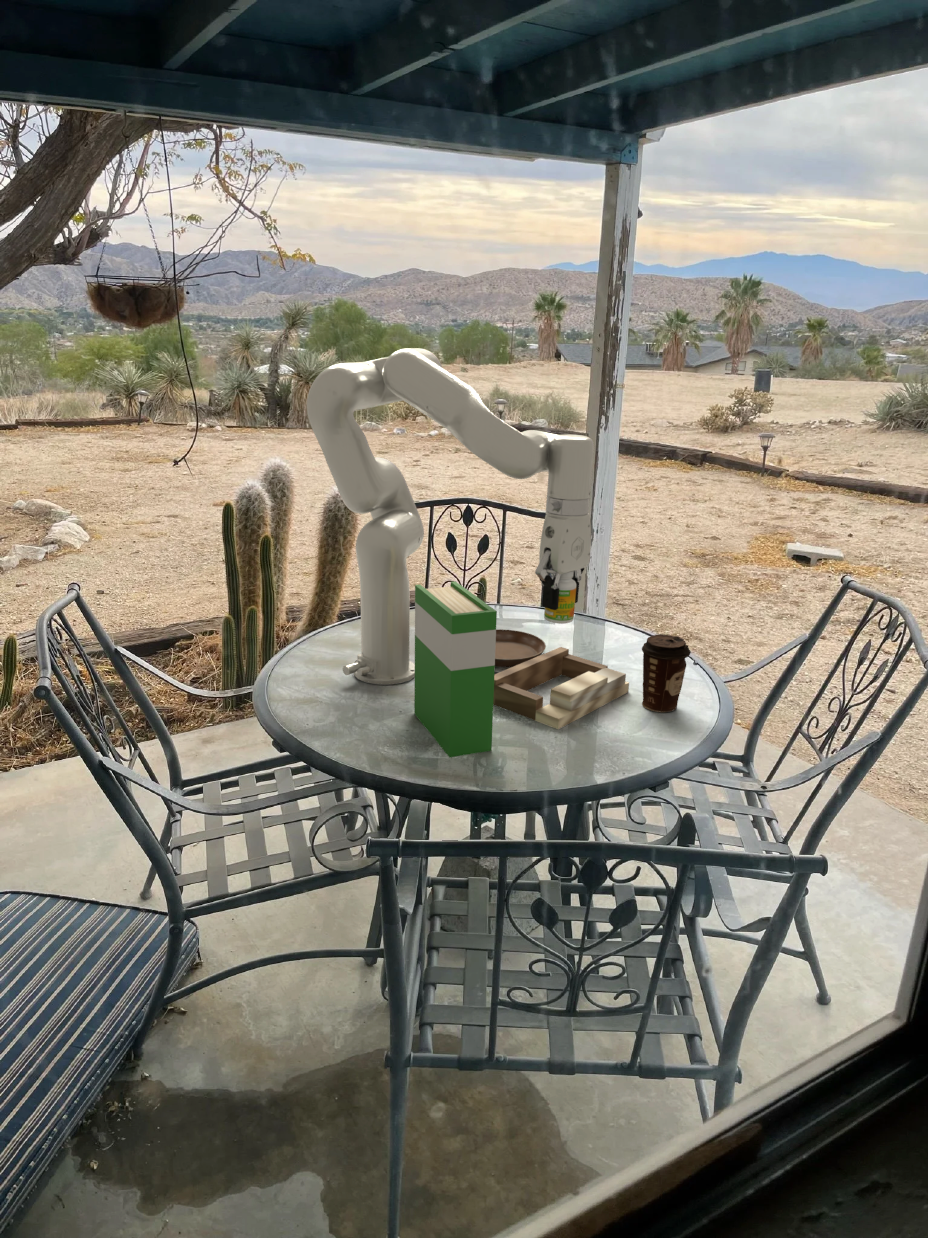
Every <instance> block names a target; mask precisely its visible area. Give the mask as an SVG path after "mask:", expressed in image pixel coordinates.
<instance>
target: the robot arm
mask: <svg viewBox="0 0 928 1238" xmlns="http://www.w3.org/2000/svg"><path fill="white" fill-rule="evenodd" d="M397 402H398V403H399V402H404V403H407V404H408V405H409V406H411V407H412V408H414V409H415V410H417V411H419V412H420V413H422V414H423V415H425V416H427V417H428V418H430V419H431V420H432V421H434V422H435V423H437V424H438V425H439V426H441V427H442V428H444V429H445V430H447V431H449V432H450V434H451V435H452V436H453V437H454V438H455V439H456V440H458V441H459V442H460V444H461V445H463V446H464V447H465V448H466V449H467V450H469V451H470V452H471V453H472V454H473V455H475V456H476V457H477V458H479V459H480V460H481V461H483V462H485V463H486V464H488V465H489V466H491V467H493V468H494V469H496V470H497V471H499V472H500V473H502V474H503V475H505V476H507V477H509V478H513V479H515V480H525V479H530V478H531V477H534V476H535V475H536V474H539V473H543V472H544V473H545V472H547V473H548V474H547V487H546V488H547V489H546V491H547V492H546V501H545V502H546V504H545V515H544V521H543V524H542V531H541V536H540V545H539V555H538V565H537V567H536V569H535V571H534V573H535V575H536V576H537V577H538V579H539V581H540V583H541V586H542V599H541V606H542V607H543V608H544V609H545V608H549V609H552V610H557V609H558V602H559V588H557V586H558V582H559V579H560V575H561V574H565V573H569V572H572V571H574V573H573V578H572V579H573V580H574V581H575V582H576V596H575V604H577V603H578V600H579V591H580V590H579V589H580V582H581V581H582V574H583V573H584V571H585V568H586V567H588V566H589V564H590V559H591V548H592V547H591V546H592V545H591V544H592V525H591V524H592V523H591V514H590V513H589V512H590V510H589V509H590V499H591V489H592V488H591V487H592V486H591V485H592V475H593V465H594V454H595V453H594V452H595V444H594V441H593V438H591V437H589V436H586V435H582V434H567V433H566V434H556V433H550V432H546V431H541V430H536V429H528V430H524V431H519V430H518V429H516V428H515V427H513V426H512V425H510V424H508V423H507V422H506V421H504V420H503V419H501V418H499V417H498V416H497V415H495V414H494V413H493V412H492V411H491V410H490V409H489V408H488V407H487V406H486V405H485V403H484V402H483V400H482V398H481V396H480V393H479V392H478V391H477V389H476V388H474V387H473V386H472V385H470V384H469V383H467V382H465V381H464V380H462V379H460V378H459V377H457V376H456V375H454V374H453V373H451V372H449V371H448V370H447V369H446V368H444V367H443V365H442V363H441V362H440V359H439V358H438V357H437V356H436V355H435V354H434V353H433V352H432V351H430V350H428V349H425V348H419V347H418V348H417V347H416V348H415V347H414V348H413V347H411V348H408V347H407V348H400V349H398V350H395V351H394V352H393V353H391V354H390V355H389V356H385V357H381V358H380V357H379V358H377V359H371V360H367V361H358V362H356V361H355V362H341V363H336V364H333V365H330V366H328V367H327V368H325V369H324V370H322V371H321V372H320V373H318V375H317V376H316V377H315V379H314V380H313V382H312V384H311V386H310V388H309V390H308V395H307V400H306V412H307V417H308V418H307V419H308V421H309V424H310V426H311V429H312V432H313V434H314V436H315V438H316V440H317V442H318V445H319V447H320V450H321V451H322V453H323V456H324V458H325V462H326V465H327V467H328V469H329V471H330V473H331V476H332V478H333V480H334V483H335V486H336V488H337V490H338V493H339V496H340V497H341V500H342V501H343V504H344V505H345V506H346V507H347V509H349V511H351V512H352V513H355V514H358V515H361V514H363V515H364V514H368V513H370V515H371V518H372V519H371V520H369V521H368V522H367V523H366V524H365V525H363V526H362V528H361V530H360V531H359V532H358V534H357V536H356V542H355V554H356V561H357V566H358V573H359V589H360V592H359V593H360V594H359V595H360V636H361V637H360V641H361V642H360V644H361V647H360V648H361V652H360V653H358V654H357V655H356V656H357V658H356V659H357V660H355V661H354V662H353V663H349V664H346V665H343V666H342V673H343V674H344V675H345V676H349V675H352V674H353V675H354V677H356V679H358V680H359V681H361V682H363V683H367V684H372V685H379V686H380V685H381V686H382V685H383V686H384V685H386V686H387V685H389V686H390V685H398V684H402V683H406V682H409V681H411V680H412V679H415V662H413V661H411V660H410V629H411V628H410V625H411V624H410V618H411V617H410V614H411V613H410V610H411V609H410V607H411V605H410V602H411V600H410V597H411V596H410V591H411V590H410V575H409V571H408V567H407V558H408V557H410V556H411V555H413V554H414V553H415V552H416V551H417V550H419V548H420V547H421V546H422V543H423V540H424V537H425V529H424V525H423V521H422V519H421V516H420V513H419V510H418V508H417V505H416V503H415V501H414V498H413V495H412V494H411V491H410V488H409V486H408V483H407V481H406V479H405V476H404V475H403V473H402V472H401V470H400V468H399V467H398V466H397V465H396V464H395V463H394V462H392V461H391V460H389V459H387V458H383V457H380V456H379V457H378V456H376V457H375V455H374V454H373V451H372V450H371V446H370V445H369V442H368V439H367V436H366V434H365V433H364V431H363V429H362V427H360V425H359V423H358V422H357V420H356V419H355V416H354V413H355V411H360V410H365V409H371V408H374V407H375V408H376V407H379V406H383V405H388V404H389V405H390V404H394V403H397ZM552 568H553V570H552ZM551 573H552V574H554V577H553V579H552V576H551Z"/></svg>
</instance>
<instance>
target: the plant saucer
mask: <svg viewBox="0 0 928 1238" xmlns="http://www.w3.org/2000/svg"><path fill="white" fill-rule="evenodd" d="M546 647H547V645H546V643H545V641H544V640H543V639H542V638H541V637H539V636H536V635H535V634H532V633H529V632H525V631H522V630H521V631H520V630H514V629H497V628H496V646H495V668H511V667H514V666H516V665H518V664H521V663H523V662H526V661H528V660H530V659H533V658H535V657H538V656H540V655H542V654H544V652H545V650H546Z"/></svg>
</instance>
